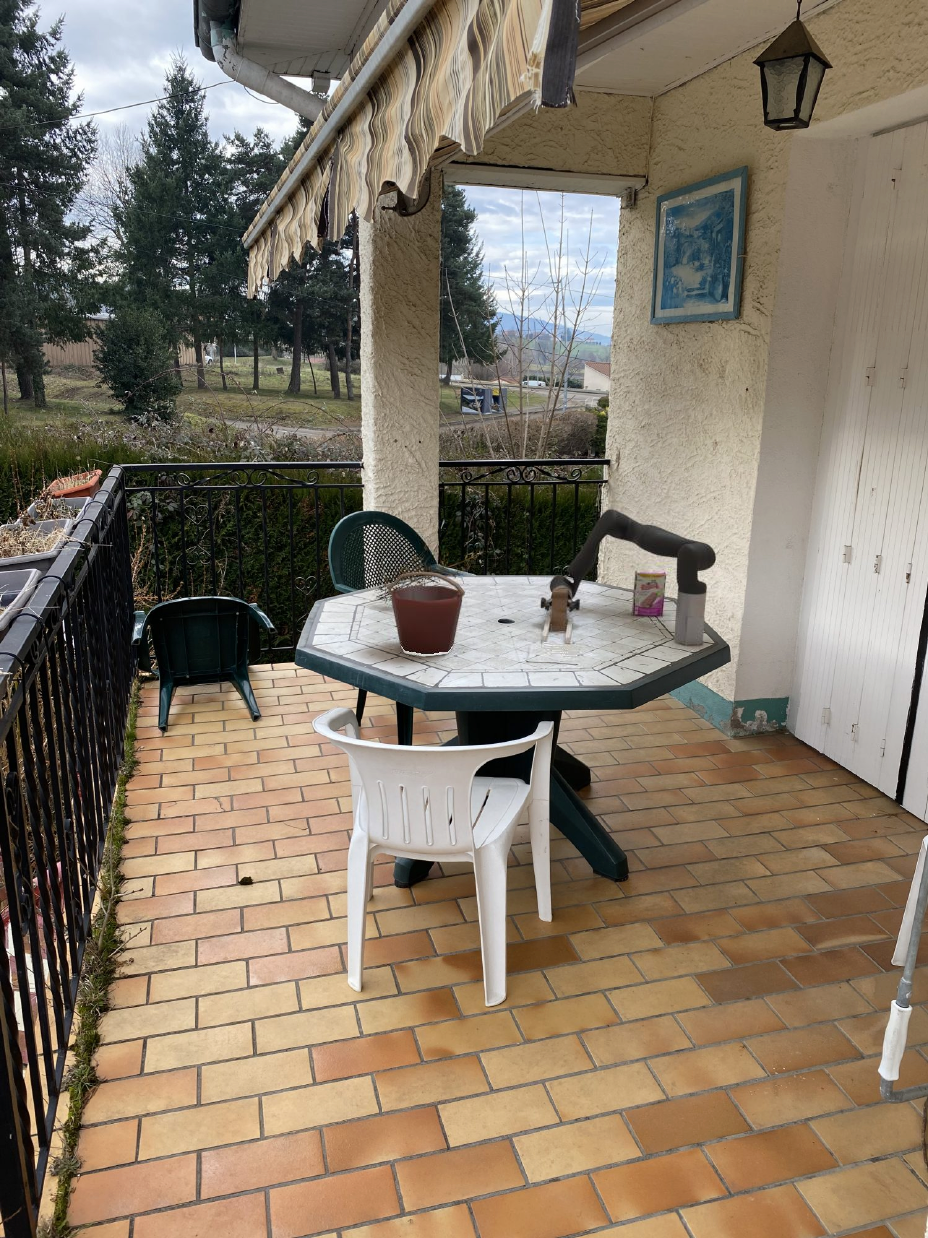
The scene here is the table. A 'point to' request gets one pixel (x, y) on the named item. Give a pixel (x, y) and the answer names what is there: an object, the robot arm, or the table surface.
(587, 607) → the table surface
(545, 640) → the chute
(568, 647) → the mat
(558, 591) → the walnut block
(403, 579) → the dried plant
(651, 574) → the candy bar box
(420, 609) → the bucket
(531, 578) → the table surface
